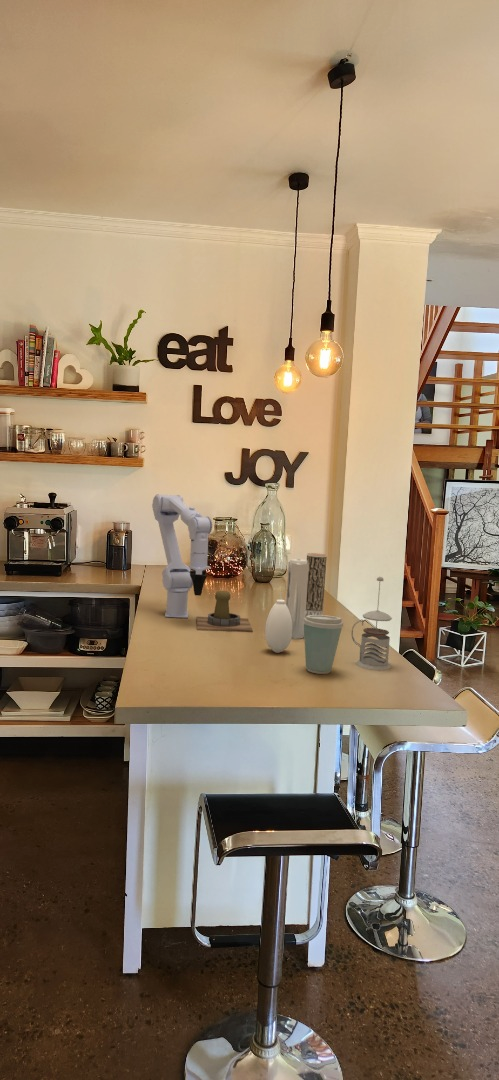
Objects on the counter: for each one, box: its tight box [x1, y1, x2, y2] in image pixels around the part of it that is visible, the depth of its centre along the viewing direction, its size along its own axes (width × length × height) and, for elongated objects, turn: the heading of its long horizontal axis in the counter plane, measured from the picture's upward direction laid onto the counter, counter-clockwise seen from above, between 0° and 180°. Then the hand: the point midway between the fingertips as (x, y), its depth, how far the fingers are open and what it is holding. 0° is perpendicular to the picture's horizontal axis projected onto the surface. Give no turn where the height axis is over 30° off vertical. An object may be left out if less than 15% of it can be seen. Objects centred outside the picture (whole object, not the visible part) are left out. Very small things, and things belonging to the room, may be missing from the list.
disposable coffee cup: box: [303, 614, 344, 675], centre depth 182 cm, size 11×11×15 cm
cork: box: [213, 590, 231, 619], centre depth 230 cm, size 6×6×11 cm
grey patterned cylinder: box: [305, 552, 328, 617], centre depth 237 cm, size 7×7×25 cm
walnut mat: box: [196, 615, 253, 633], centre depth 231 cm, size 18×18×1 cm
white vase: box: [264, 591, 292, 654], centre depth 199 cm, size 8×8×18 cm
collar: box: [207, 612, 241, 627], centre depth 231 cm, size 11×11×2 cm
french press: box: [351, 576, 393, 671], centre depth 191 cm, size 10×12×25 cm
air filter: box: [285, 558, 309, 640], centre depth 219 cm, size 6×6×25 cm
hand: (197, 593), depth 228 cm, fingers open, 7 cm apart
